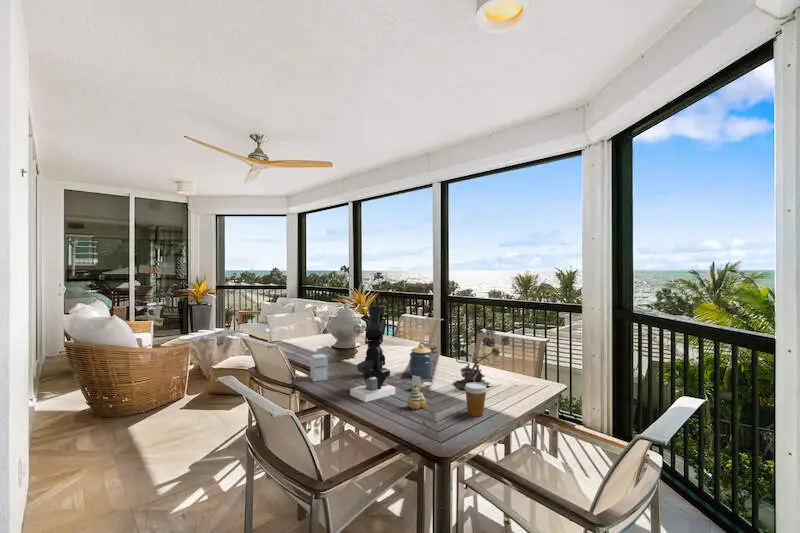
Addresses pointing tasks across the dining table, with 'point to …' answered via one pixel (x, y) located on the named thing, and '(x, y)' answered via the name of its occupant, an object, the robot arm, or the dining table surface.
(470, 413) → the disposable coffee cup
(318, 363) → the supplement box
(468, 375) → the bonsai tree
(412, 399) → the ornament
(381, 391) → the socket
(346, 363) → the dining table surface
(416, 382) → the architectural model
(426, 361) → the canister
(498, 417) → the dining table surface
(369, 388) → the plug
